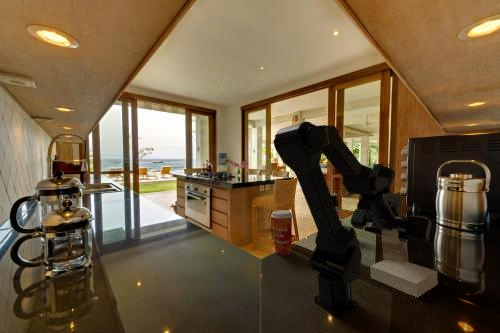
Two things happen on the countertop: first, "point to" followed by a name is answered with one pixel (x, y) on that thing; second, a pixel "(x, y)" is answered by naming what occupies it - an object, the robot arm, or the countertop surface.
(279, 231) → the paper cup
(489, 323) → the countertop surface
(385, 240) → the oak post
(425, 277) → the base slab
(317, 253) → the robot arm
